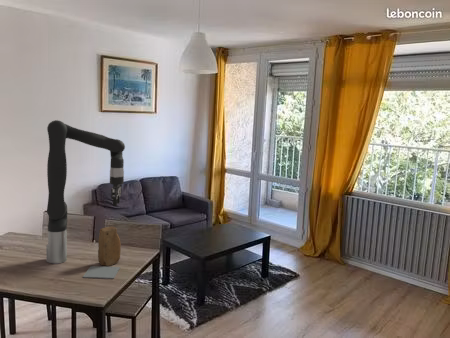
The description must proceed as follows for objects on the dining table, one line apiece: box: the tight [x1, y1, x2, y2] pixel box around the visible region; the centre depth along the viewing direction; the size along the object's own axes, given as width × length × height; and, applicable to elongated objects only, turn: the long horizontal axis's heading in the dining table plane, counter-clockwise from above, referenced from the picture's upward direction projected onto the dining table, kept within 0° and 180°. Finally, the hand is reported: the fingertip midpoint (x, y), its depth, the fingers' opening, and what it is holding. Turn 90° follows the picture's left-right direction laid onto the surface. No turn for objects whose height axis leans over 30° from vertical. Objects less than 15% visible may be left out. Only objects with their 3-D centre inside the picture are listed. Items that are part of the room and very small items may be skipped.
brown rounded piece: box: [97, 225, 122, 267], centre depth 202 cm, size 11×8×20 cm
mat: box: [82, 265, 121, 280], centre depth 191 cm, size 15×13×1 cm
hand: (116, 204), depth 212 cm, fingers open, 5 cm apart
